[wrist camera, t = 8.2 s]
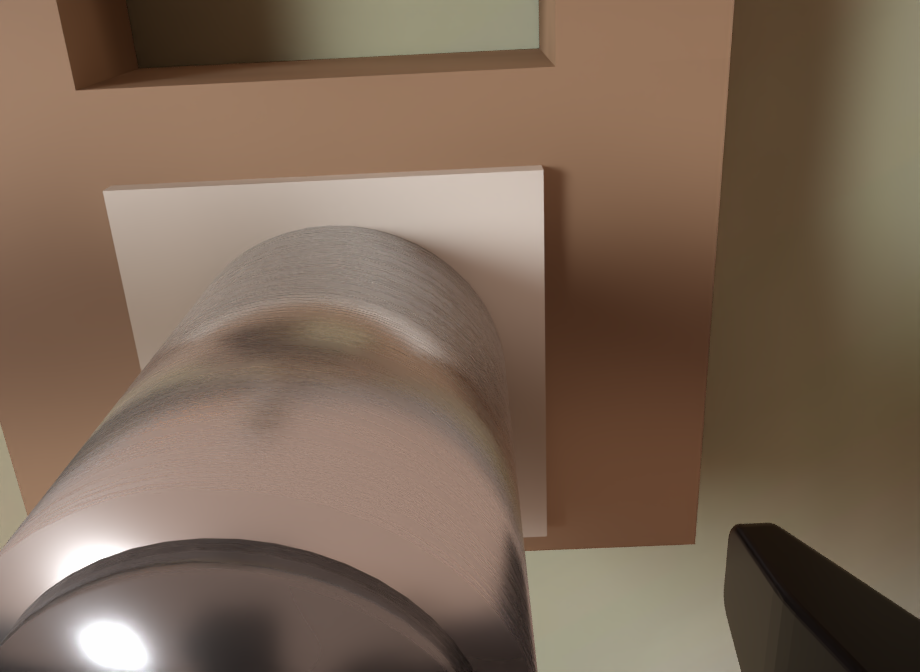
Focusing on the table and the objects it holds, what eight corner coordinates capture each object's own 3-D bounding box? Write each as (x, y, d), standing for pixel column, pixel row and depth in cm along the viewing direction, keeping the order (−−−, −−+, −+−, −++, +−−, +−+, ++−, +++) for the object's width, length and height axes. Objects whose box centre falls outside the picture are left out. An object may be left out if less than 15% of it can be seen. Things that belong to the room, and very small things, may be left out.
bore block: (662, 464, 17) (699, 555, 14) (99, 488, 17) (36, 581, 15) (722, -673, 11) (808, -878, 8) (-179, -616, 11) (-379, -797, 8)
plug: (510, 510, 14) (549, 981, 7) (210, 521, 14) (-3, 994, 8) (501, 217, 12) (547, 510, 6) (156, 233, 12) (-190, 538, 6)
